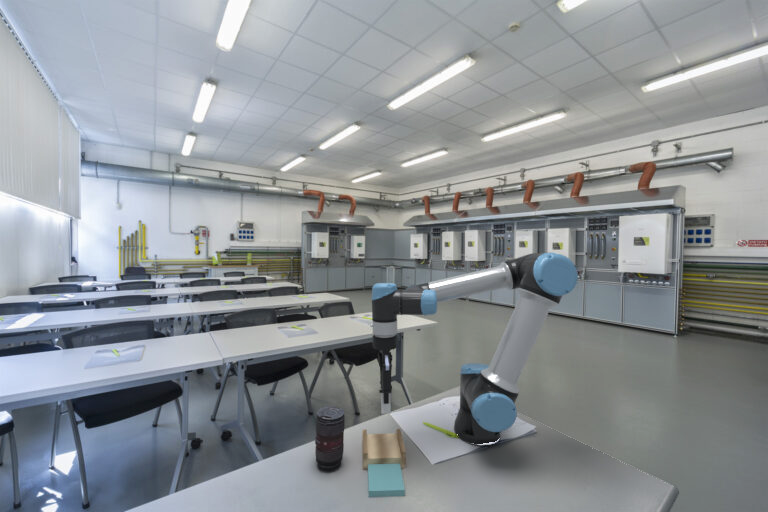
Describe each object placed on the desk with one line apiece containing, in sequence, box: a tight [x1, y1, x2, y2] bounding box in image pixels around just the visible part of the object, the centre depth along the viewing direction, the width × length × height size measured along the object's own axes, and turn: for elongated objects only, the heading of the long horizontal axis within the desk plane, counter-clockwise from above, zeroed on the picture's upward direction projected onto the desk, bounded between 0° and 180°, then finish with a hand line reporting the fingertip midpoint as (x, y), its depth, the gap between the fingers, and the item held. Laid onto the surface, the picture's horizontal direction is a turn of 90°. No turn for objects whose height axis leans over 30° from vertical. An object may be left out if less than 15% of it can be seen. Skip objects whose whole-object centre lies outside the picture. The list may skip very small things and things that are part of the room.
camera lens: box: [314, 405, 346, 473], centre depth 90 cm, size 8×8×15 cm
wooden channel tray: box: [361, 428, 407, 470], centre depth 94 cm, size 12×12×4 cm
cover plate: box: [367, 463, 406, 498], centre depth 83 cm, size 9×10×2 cm
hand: (385, 412), depth 95 cm, fingers closed
